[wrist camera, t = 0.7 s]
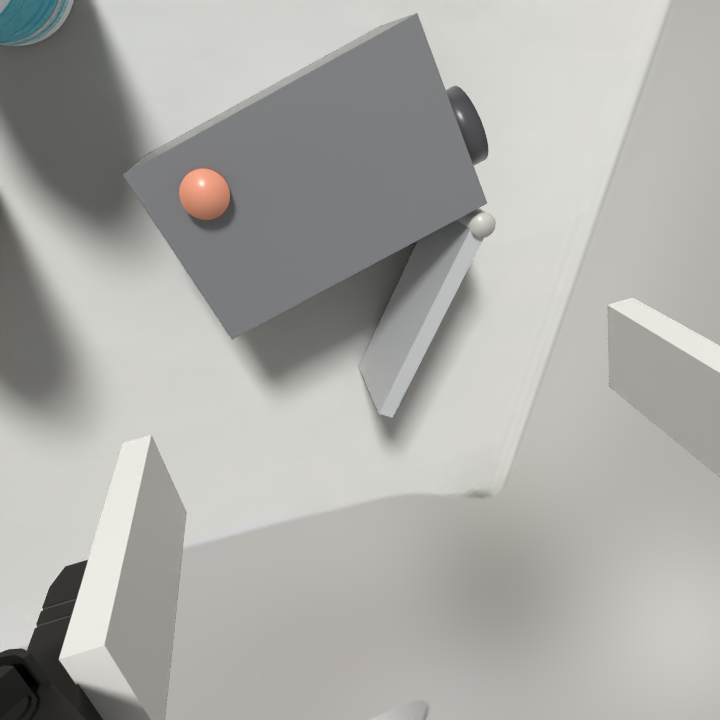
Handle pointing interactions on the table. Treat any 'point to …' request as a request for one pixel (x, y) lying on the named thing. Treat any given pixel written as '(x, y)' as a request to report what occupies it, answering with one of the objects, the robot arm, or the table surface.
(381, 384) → the side door
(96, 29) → the table surface
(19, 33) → the pill bottle
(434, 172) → the camera body
